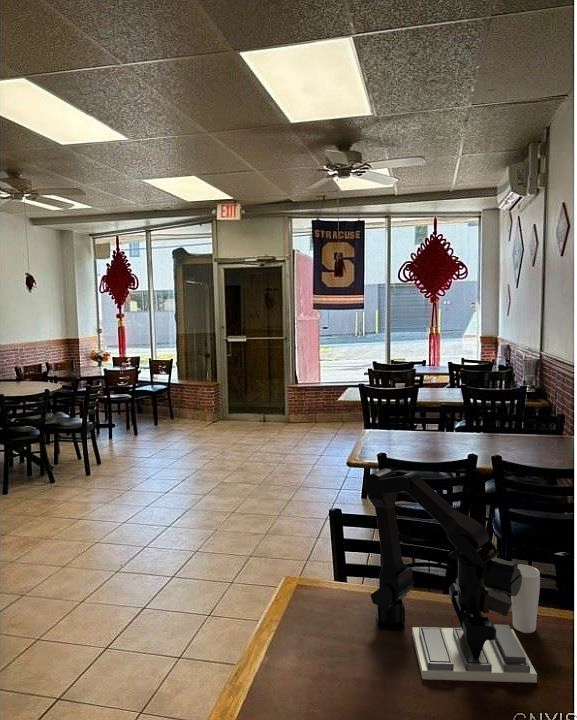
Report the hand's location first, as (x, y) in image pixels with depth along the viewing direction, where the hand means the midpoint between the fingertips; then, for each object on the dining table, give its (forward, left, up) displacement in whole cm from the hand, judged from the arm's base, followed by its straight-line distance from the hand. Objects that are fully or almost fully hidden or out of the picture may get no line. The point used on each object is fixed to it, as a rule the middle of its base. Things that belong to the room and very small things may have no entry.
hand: (470, 645), depth 124 cm
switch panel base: (0, +1, -4) cm, 4 cm away
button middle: (0, 0, -2) cm, 2 cm away
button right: (+8, 0, 0) cm, 8 cm away
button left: (-8, 0, -1) cm, 8 cm away
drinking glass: (+16, +13, -4) cm, 21 cm away
